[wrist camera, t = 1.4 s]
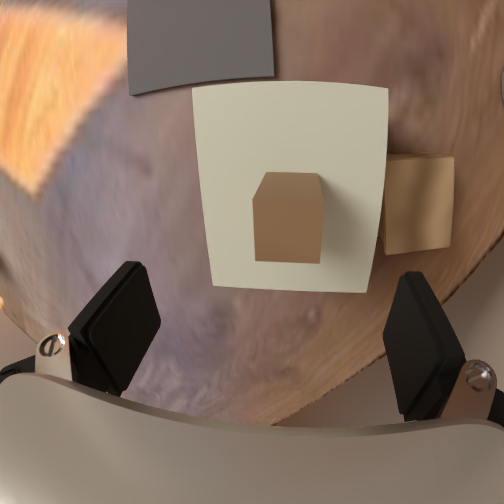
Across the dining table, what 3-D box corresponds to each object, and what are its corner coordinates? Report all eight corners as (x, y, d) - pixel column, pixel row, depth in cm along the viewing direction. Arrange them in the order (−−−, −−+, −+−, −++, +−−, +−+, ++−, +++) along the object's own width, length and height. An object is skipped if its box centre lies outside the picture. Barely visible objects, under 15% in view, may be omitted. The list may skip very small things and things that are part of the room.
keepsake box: (433, 149, 27) (453, 157, 22) (433, 227, 32) (449, 246, 27) (369, 152, 29) (382, 161, 24) (375, 234, 34) (385, 255, 29)
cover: (352, 95, 26) (424, 83, 9) (346, 226, 34) (378, 344, 17) (234, 94, 28) (149, 84, 11) (242, 223, 36) (191, 333, 19)
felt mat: (265, -55, 17) (264, -58, 16) (274, 76, 27) (274, 76, 26) (132, -26, 20) (129, -27, 19) (132, 95, 29) (129, 95, 29)
